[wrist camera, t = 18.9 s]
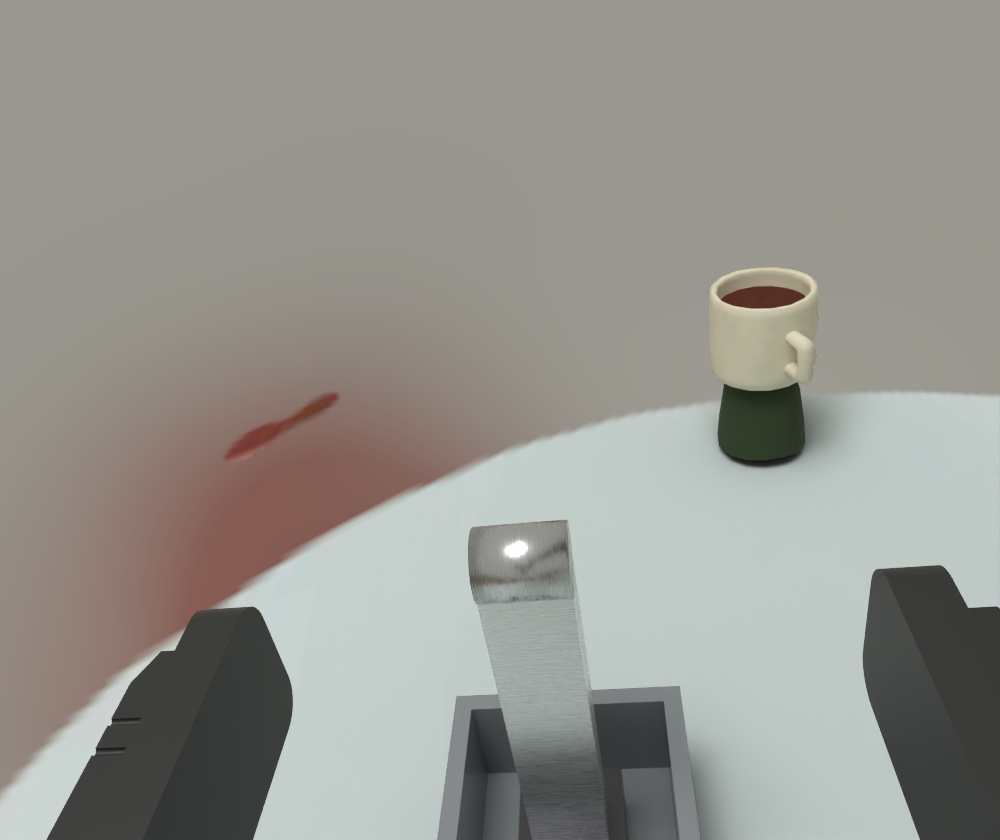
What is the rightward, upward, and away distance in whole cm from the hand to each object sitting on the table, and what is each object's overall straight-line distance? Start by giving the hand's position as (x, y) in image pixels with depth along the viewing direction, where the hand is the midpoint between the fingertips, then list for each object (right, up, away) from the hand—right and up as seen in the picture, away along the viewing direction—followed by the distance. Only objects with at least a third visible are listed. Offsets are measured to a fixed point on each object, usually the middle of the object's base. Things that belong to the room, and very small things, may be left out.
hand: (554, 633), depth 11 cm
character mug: (+19, +1, +52) cm, 56 cm away
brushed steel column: (+3, -17, +27) cm, 32 cm away
